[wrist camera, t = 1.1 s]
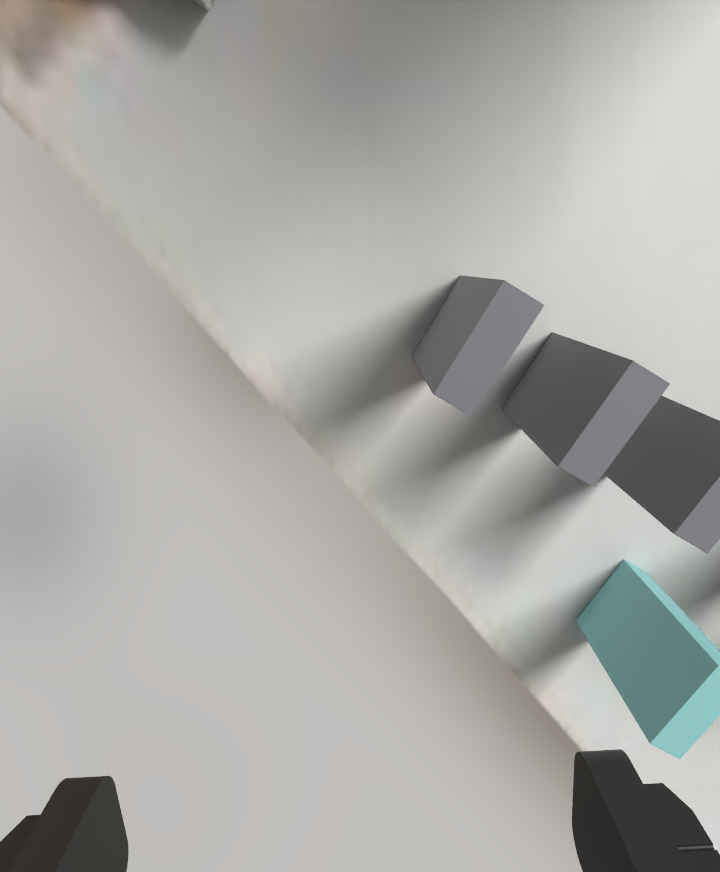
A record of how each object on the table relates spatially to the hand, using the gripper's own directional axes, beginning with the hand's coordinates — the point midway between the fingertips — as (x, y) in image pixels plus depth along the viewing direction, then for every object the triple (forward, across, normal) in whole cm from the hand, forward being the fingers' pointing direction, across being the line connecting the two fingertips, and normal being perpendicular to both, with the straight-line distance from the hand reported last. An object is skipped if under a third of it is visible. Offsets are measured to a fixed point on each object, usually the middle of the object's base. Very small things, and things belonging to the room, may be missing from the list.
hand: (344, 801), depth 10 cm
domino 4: (+25, -15, +12) cm, 31 cm away
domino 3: (+25, -16, +1) cm, 29 cm away
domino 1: (+25, -6, -6) cm, 26 cm away
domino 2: (+25, -11, -2) cm, 27 cm away
